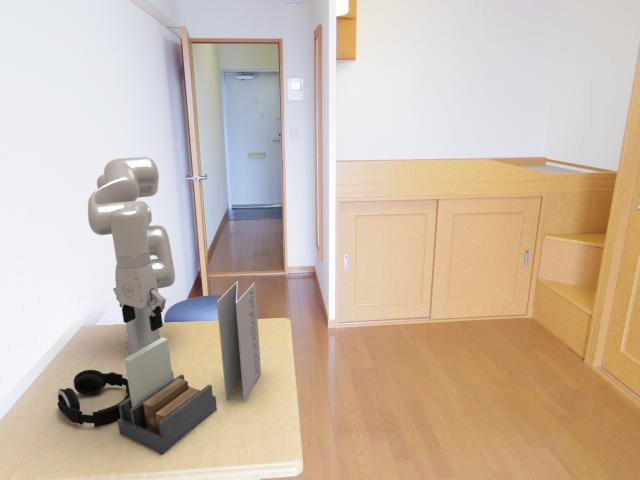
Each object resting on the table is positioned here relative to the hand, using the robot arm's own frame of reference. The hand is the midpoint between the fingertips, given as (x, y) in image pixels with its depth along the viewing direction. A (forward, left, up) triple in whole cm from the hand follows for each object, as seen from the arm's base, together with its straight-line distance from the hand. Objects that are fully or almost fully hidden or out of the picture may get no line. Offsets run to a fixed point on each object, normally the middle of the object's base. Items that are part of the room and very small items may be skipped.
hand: (143, 324), depth 115 cm
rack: (+5, 0, -27) cm, 27 cm away
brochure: (+13, +21, -27) cm, 37 cm away
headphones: (-17, -5, -27) cm, 33 cm away
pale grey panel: (0, 0, -27) cm, 27 cm away
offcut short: (+9, 0, -27) cm, 28 cm away
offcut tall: (+5, 0, -27) cm, 27 cm away
